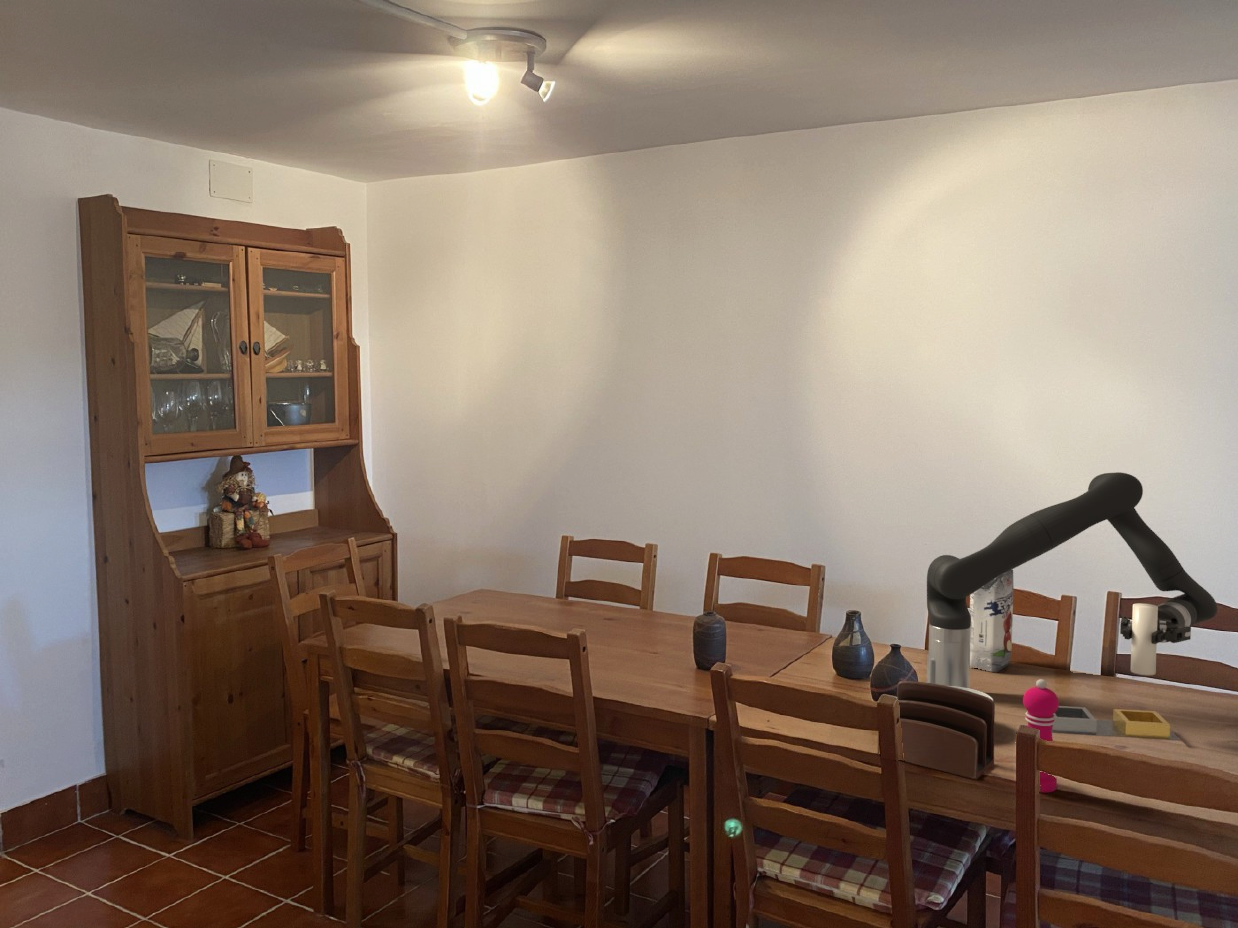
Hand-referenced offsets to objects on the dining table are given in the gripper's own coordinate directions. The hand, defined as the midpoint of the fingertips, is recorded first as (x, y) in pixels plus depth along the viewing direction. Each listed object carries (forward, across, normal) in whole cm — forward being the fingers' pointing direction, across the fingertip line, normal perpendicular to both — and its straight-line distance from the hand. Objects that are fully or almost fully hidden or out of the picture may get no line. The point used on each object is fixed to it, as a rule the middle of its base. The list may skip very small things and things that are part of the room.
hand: (1140, 636), depth 202 cm
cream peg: (-3, 0, +8) cm, 8 cm away
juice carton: (-28, -44, +22) cm, 57 cm away
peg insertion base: (+2, -6, +22) cm, 22 cm away
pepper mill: (+38, -4, +21) cm, 44 cm away
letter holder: (+40, -24, +22) cm, 51 cm away
